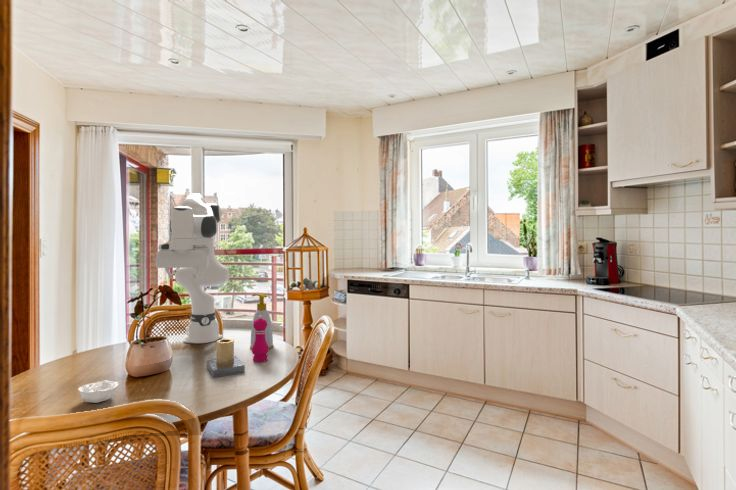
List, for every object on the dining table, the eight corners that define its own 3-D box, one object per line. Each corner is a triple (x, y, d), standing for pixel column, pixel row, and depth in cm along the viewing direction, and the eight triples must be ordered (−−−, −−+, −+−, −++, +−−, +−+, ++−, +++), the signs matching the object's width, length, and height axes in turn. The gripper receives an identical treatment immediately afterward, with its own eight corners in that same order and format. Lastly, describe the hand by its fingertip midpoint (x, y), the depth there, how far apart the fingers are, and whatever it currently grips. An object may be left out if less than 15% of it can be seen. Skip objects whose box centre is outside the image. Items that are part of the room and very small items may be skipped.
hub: (218, 360, 168) (218, 339, 168) (234, 359, 169) (234, 338, 169) (215, 365, 162) (215, 343, 161) (232, 364, 163) (232, 342, 163)
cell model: (89, 394, 140) (89, 375, 140) (125, 394, 141) (125, 375, 140) (70, 407, 130) (69, 387, 129) (108, 407, 130) (108, 386, 130)
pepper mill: (264, 363, 174) (264, 317, 173) (248, 362, 175) (248, 316, 174) (271, 358, 181) (271, 313, 180) (256, 356, 182) (256, 313, 182)
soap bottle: (261, 343, 204) (261, 291, 203) (278, 346, 198) (278, 293, 197) (244, 348, 195) (244, 294, 194) (261, 352, 189) (261, 297, 188)
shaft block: (206, 367, 168) (206, 345, 168) (236, 362, 175) (236, 341, 174) (213, 377, 156) (213, 355, 156) (244, 372, 163) (244, 350, 162)
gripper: (210, 245, 172) (210, 277, 173) (158, 245, 168) (159, 278, 169) (207, 245, 166) (208, 278, 167) (154, 245, 162) (154, 279, 162)
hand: (183, 278), depth 168 cm, fingers open, 8 cm apart
